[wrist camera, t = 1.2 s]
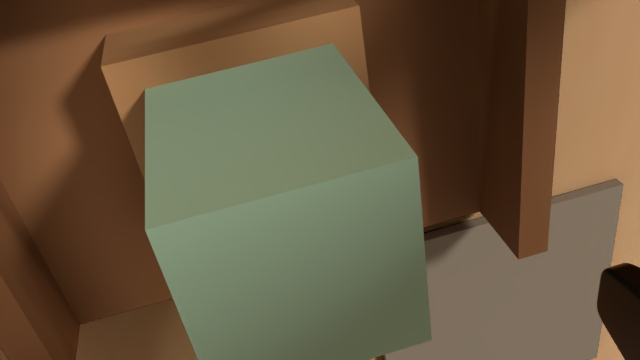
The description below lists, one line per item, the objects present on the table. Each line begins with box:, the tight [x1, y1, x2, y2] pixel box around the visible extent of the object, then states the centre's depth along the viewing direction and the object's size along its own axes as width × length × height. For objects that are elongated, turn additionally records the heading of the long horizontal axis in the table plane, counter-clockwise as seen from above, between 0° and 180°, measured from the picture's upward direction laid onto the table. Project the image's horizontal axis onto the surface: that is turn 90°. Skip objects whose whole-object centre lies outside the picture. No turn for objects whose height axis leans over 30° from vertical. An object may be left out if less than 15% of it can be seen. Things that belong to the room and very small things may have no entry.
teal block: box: [145, 44, 432, 360], centre depth 13 cm, size 4×4×6 cm
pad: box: [383, 179, 623, 360], centre depth 25 cm, size 10×10×1 cm
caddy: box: [0, 0, 566, 360], centre depth 17 cm, size 16×12×4 cm
